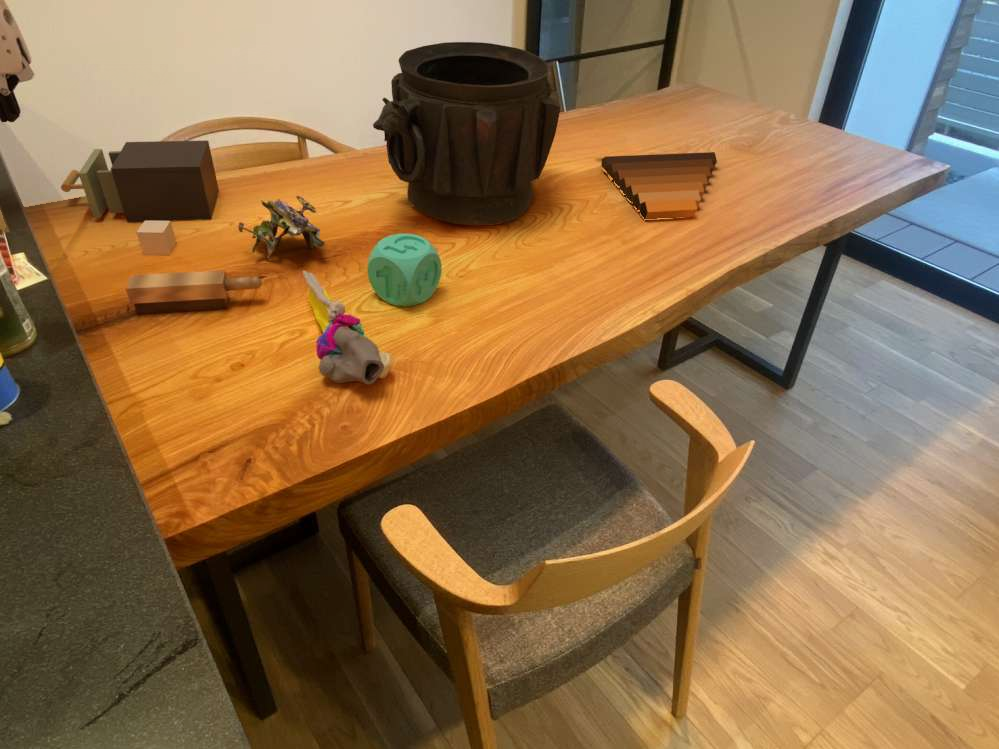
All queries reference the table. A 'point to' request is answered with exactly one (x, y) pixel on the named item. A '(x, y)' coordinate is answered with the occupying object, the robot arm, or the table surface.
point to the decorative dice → (404, 269)
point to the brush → (184, 291)
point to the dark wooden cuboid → (166, 181)
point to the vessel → (469, 129)
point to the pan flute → (662, 181)
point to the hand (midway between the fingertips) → (10, 119)
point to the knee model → (344, 341)
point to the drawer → (97, 183)
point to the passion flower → (285, 225)
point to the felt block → (156, 237)
